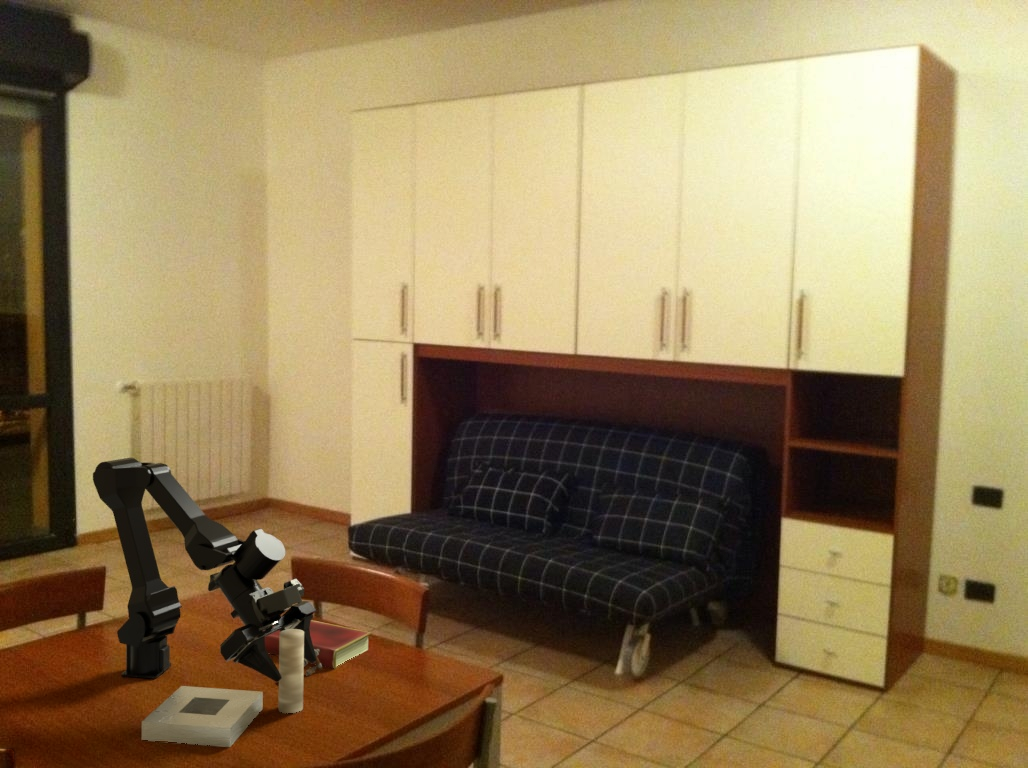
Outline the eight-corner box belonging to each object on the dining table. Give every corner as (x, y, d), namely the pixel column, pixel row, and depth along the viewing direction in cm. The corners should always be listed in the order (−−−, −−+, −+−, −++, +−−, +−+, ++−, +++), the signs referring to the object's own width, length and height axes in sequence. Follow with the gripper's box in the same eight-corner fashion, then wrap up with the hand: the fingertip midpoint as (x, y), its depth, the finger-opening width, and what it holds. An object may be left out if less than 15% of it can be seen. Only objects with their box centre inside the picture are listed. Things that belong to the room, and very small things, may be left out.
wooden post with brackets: (328, 666, 176) (320, 647, 175) (294, 694, 171) (285, 674, 170) (322, 664, 178) (314, 644, 176) (288, 691, 173) (280, 672, 171)
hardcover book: (334, 671, 177) (335, 649, 177) (245, 651, 186) (246, 630, 186) (370, 651, 188) (371, 631, 188) (285, 633, 197) (285, 613, 197)
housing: (141, 740, 146) (141, 721, 146) (181, 703, 160) (181, 685, 160) (229, 747, 145) (230, 728, 145) (262, 709, 159) (262, 691, 159)
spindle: (275, 712, 158) (276, 636, 157) (283, 702, 162) (284, 628, 161) (298, 714, 158) (299, 637, 156) (306, 704, 161) (307, 629, 160)
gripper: (234, 581, 151) (289, 661, 147) (307, 555, 168) (359, 627, 164) (196, 621, 155) (249, 701, 151) (271, 592, 172) (320, 663, 168)
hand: (297, 670), depth 159 cm, fingers open, 9 cm apart
